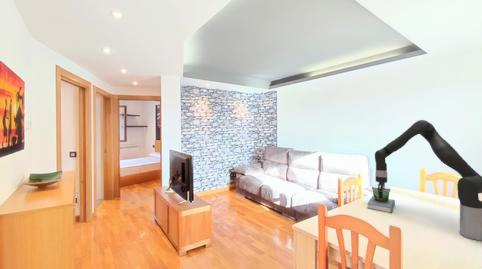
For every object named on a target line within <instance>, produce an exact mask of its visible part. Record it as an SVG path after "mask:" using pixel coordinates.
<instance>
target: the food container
mask: <svg viewBox="0 0 482 269" xmlns="http://www.w3.org/2000/svg"><path fill="white" fill-rule="evenodd" d="M371 190H372V195H373V196H374V200H376V201H380V202H388V199H390V192H391V188H390V187H388V188H385V189H384V190H383V189H382V191H383V199H380V198H379V193H378V187H375V186H373V185H372V186H371ZM380 192H381V191H380Z"/></svg>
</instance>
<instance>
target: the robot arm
mask: <svg viewBox="0 0 482 269" xmlns="http://www.w3.org/2000/svg"><path fill="white" fill-rule="evenodd" d="M417 135H420V136H421V137H422V138H424V140H426V141H427V142H428V144H429V146H430V147H431V150H432V152H433V153H434V155H435V156H436V157H437V158H438V160H440V162H442V163H443V164H444V165H446V166H447V167H449V168H450V169H451V170H454V171H455V172H456V173H457V174H458V175H459V176H461V177H460V178H459V179H458V181H457V185H456V186H457V188H456V189H457V198H458V201H459V234H460V235H461V236H463V237H464V238H466V239H471V240H476V241H478V242H479V241H480V242H482V200H480V198H479V194H482V175H480V174H479V173H478V172H477V171H476V170H475V169H473V167H471V166H470V164H469V163H468V162H467V161H466V160H465V159H464V158H463V157H462V156H461V155H460V154H459V152H457V150H456V148H454V147H453V146H452V145H451V144H450V143H449V142H448V141H447V140H445V139H444V138H443V137H442V136H441V135H440V133H439V132H438V131H437V130H436V128H435V126H434V125H433V124H432V123H430V122H429V121H427V120H426V119H425V120H424V119H420V120H417V121H415V122H414V123H413V124H412V125H411V126H409V127H408V128H407V129H406V130H405V131H404V132H402V134H401V135H399V136H397V137H396V138H395V139H393V140H392V141H390V142H389V143H387V144H385V146H383V147H382V148H380V149H378V150H376V151H375V153H374V160H375V161H374V162H375V182H376V183H378V184H377V188H378V193H379V198H380V199H383V191H382V189H383V190H384V189H386V187H385V186H386V185H385V184H386V183H388V167H387V166H388V165H387V164H388V163H386V158H387V157H390V155H392V154H393V153H395V152H397V151H399V150H400V149H402V148H403V147H404V146H406V144H407V143H408V142H409V141H410V140H411V139H413V138H414V137H416V136H417ZM380 191H381V192H380Z"/></svg>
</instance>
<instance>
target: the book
mask: <svg viewBox="0 0 482 269" xmlns="http://www.w3.org/2000/svg"><path fill="white" fill-rule="evenodd" d="M395 206H396V200H395V199H391V198H389V199H388V202H380V201H376V200H374V196H371V197H370V199H369V200H368V202H367V210H368V209H369V210H373V211H379V212H384V213H388V214H393V210H394V208H395Z"/></svg>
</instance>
